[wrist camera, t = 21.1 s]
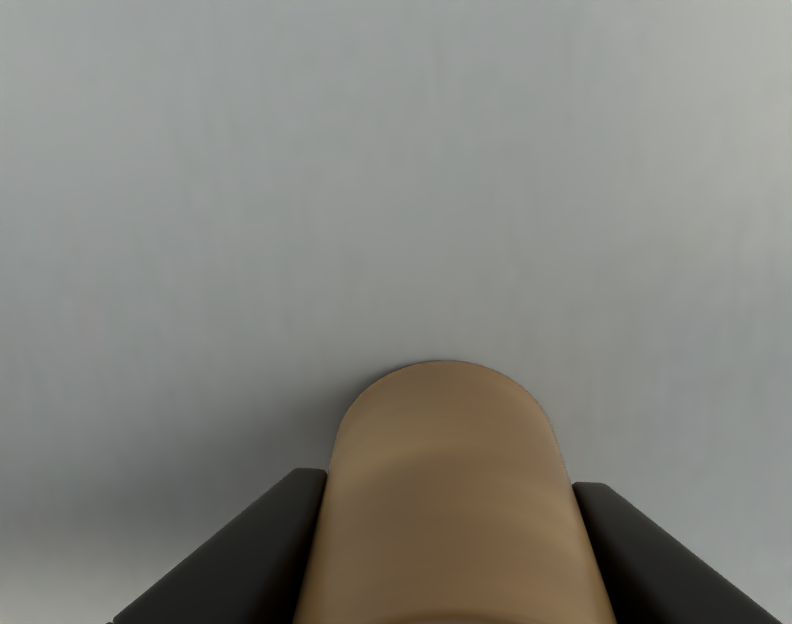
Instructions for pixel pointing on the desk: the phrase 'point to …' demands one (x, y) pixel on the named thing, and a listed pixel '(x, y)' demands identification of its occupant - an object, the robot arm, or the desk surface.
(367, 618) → the peg
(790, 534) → the desk surface
